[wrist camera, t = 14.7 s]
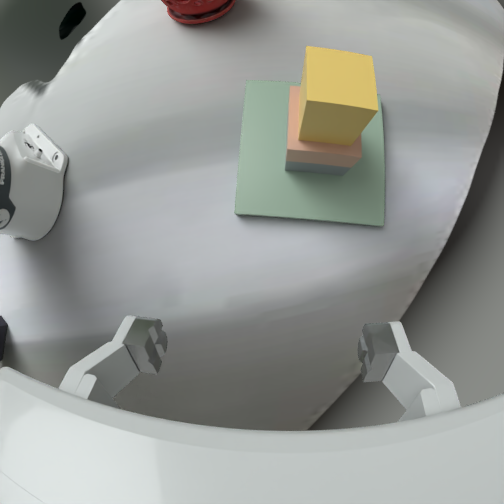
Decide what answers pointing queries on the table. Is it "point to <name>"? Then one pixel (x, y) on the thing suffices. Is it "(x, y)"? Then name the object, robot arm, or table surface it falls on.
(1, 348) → the dark charcoal rectangular block
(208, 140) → the table surface
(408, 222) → the table surface
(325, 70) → the mustard brick
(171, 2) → the plant pot
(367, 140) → the baseplate tower
